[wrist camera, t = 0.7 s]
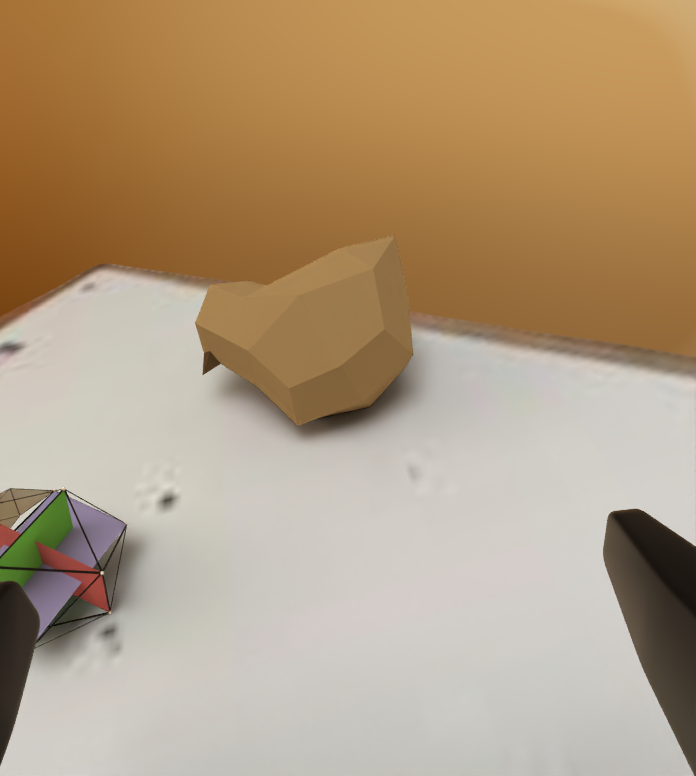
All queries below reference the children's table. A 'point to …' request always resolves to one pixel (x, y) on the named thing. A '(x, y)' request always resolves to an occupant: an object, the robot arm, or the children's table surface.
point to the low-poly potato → (315, 331)
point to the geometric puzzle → (56, 550)
